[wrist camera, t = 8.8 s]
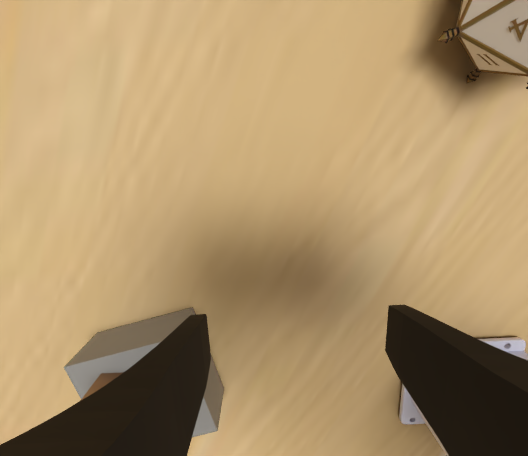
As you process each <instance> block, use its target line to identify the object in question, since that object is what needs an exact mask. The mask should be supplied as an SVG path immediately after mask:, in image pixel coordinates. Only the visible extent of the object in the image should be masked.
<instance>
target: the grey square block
mask: <svg viewBox="0 0 528 456" xmlns="http://www.w3.org/2000/svg"><path fill="white" fill-rule="evenodd" d="M190 315H196V314H195V312H194V309H193V307H192V308H188V309H184V310H181V311H177V312H173V313H169V314H166V315H162V316H158V317H154V318H150V319H147V320H143V321H139V322H135V323H132V324H128V325H124V326H120V327H116V328H113V329H109V330H105V331H101V332H98V333H96V334H95V335H94V336H93V338H92V339H91V340H90V341H89V342H88V343H87V344H86V345H85V346H84V347H83V348H82V349H81V350H80V351H79V352H78V353H77V354H76V355H75V356H74V357H73V358H72V359H71V360H70V361H69V362H68V363H67V364H66V365H65V367H64V369H65V371H66V372H67V374H68V376H69V378H70V380H71V381H72V383H73V385H74V387H75V389H76V391H77V392H78V394H79V396H80V398H81V399H82V398H83V396H84V395H85V394H86V392H87V391H88V390H89V388H90V387H91V386H92V385H93V383H94V382H95V381H96V379H97V378H98V377H99V375H100V374H101V373H121V372H125V371H126V370H128V369H129V368H130V367H131V366H133V365H134V364H135V363H136V362H138V361H139V360H140V359H141V358H143V357H144V356H145V355H146V354H147V353H149V352H150V351H151V350H152V349H154V348H155V347H156V346H157V345H158V344H159V343H160V342H162V341H163V340H164V339H165V338H166V337H167V336H168V335H169V334H170V333H172V332H173V331H174V330H175V329H176V328H177V327H178V326H179V325H180V324H181V323H182V322H183V321H184V320H186V319H187V318H188V317H189V316H190ZM210 354H211V353H210ZM223 392H224V387H223V384H222V382H221V379H220V377H219V374H218V371H217V369H216V366H215V364H214V361H213V358H212V356H211V362H210V369H209V375H208V381H207V386H206V390H205V393H204V397H203V400H202V404H201V407H200V411H199V414H198V418H197V421H196V425H195V428H194V432H193V435H192V437H195V436H199V435H203V434H207V433H211V432H216V431H218V425H219V418H220V412H221V405H222V399H223Z"/></svg>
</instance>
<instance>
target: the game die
mask: <svg viewBox="0 0 528 456" xmlns="http://www.w3.org/2000/svg"><path fill="white" fill-rule="evenodd" d="M455 36H457V37H458V38H459V40H460V42H461V43H462V45H463V47H464V49H465V50H466V52H467V54H468V55H469V57H470V59H471V61H472V62H473V64H474V66H475V67H476V69H475V70H474V71H472V72H470V73H471V74H470V75H468V76H467V77H468V78H467V83H469V82H471V81H475V80H476V78H477V77H479V73H480V72H491V73H501V74H511V75H521V76H528V0H462V1H461V6H460V11H459V16H458V21H457V25H456V28H455V29H449V30H448V31H444V32H443V34H442V35H441V37H440V38H439V39H438V41H443V42H445V43H447V42H448V41H449V40H452V39H453V38H454V37H455ZM527 84H528V83H527ZM526 89H528V87H526Z"/></svg>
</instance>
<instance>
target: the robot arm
mask: <svg viewBox="0 0 528 456" xmlns="http://www.w3.org/2000/svg"><path fill="white" fill-rule="evenodd" d="M525 346H526V343H525V341H524V340H522V339H521V338H519V337H510V338H490V339H476V338H474V337H472V336H470V335H467V334H465V333H463V332H461V331H459V330H457V329H455V328H453V327H451V326H449V325H447V324H445V323H443V322H441V321H439V320H437V319H434V318H432V317H430V316H428V315H426V314H424V313H422V312H420V311H418V310H416V309H414V308H411V307H409V306H406V305H390V306H389V310H388V322H387V335H386V348H385V351H386V353H387V355H388V357H389V359H390V361H391V364H392V366H393V368H394V369H395V371H396V373H397V375H398V377H399V379H400V380H401V382H402V392H401V402H400V413H399V419H400V421H401V422H402V423H403V424H425V423H426V425H427V426H428V428H429V429H430V431H431V433H432V434H433V436H434V437H435V439H436V440H437V442H438V443H439V445H440V447H441V448H442V450H443V451H444V453H445V454H446V456H528V354H527V353H526V352H524V350H525ZM210 362H211V354H210V344H209V335H208V326H207V316H206V314H200V315H190V316H189V317H188V318H187V319H186V320H184V321H183V322H182V323H181V324H180V325H179V326H178V327H177V328H176V329H175V330H174V331H173V332H172V333H170V334H169V335H168V336H167V337H166V338H165V339H164V340H163V341H162V342H160V343H159V344H158V345H157V346H156V347H155V348H154V349H152V350H151V351H150V352H149V353H147V354H146V355H145V356H144V357H143V358H141V359H140V360H139V361H138V362H136V363H135V364H134V365H133V366H131V367H130V368H129V369H128V370H126V371H125V372H123V373H122V374H121V375H119V376H118V377H116V378H115V379H114V380H112V381H111V382H109V383H108V384H106V385H105V386H104V387H102V388H101V389H99V390H97V391H96V392H94V393H93V394H91V395H89V396H88V397H86V398H84V399H83V400H81V401H80V402H78V403H76V404H75V405H73V406H71V407H70V408H68V409H67V410H65V411H63V412H62V413H60V414H58V415H56V416H54V417H53V418H51V419H49V420H47V421H45V422H44V423H42V424H40V425H38V426H36V427H34V428H32V429H31V430H29V431H27V432H25V433H23V434H21V435H19V436H17V437H15V438H13V439H11V440H9V441H7V442H5V443H3V444H1V445H0V456H187V453H188V449H189V446H190V442H191V439H192V435H193V432H194V428H195V425H196V421H197V418H198V414H199V411H200V407H201V404H202V400H203V397H204V393H205V390H206V386H207V381H208V375H209V369H210Z"/></svg>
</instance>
